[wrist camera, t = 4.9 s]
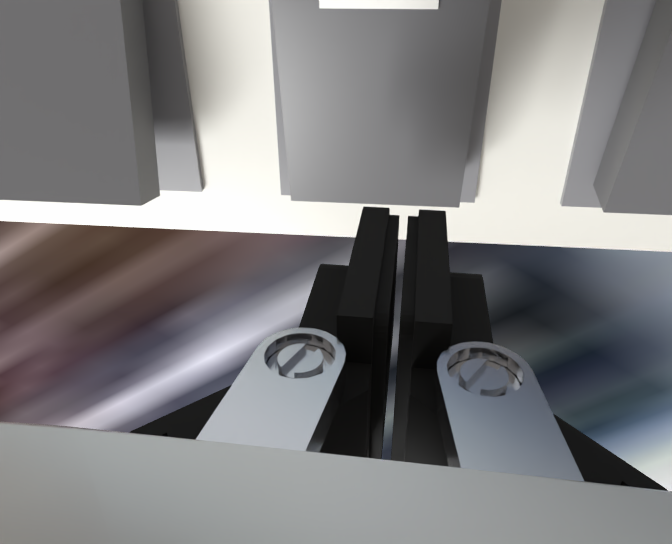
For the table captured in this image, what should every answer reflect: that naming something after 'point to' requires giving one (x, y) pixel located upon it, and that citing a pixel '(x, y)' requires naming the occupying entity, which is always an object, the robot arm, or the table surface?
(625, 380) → the table surface
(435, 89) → the middle rocker
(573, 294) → the table surface
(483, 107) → the rocker switch panel
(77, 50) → the left rocker
